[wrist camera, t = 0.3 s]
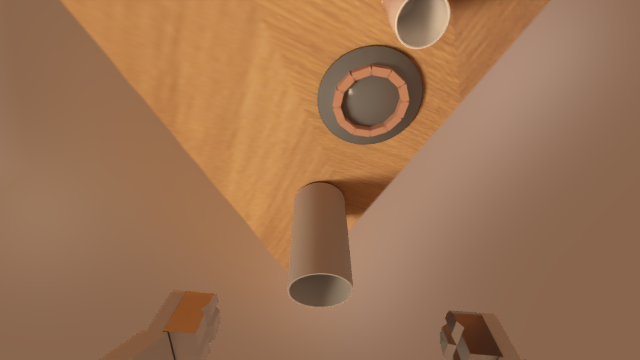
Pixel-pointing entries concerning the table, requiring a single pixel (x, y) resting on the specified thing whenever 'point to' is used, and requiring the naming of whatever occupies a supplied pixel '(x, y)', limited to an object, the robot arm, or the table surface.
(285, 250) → the table surface
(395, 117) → the round tray
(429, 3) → the drinking glass
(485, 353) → the robot arm
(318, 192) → the cylinder vase
